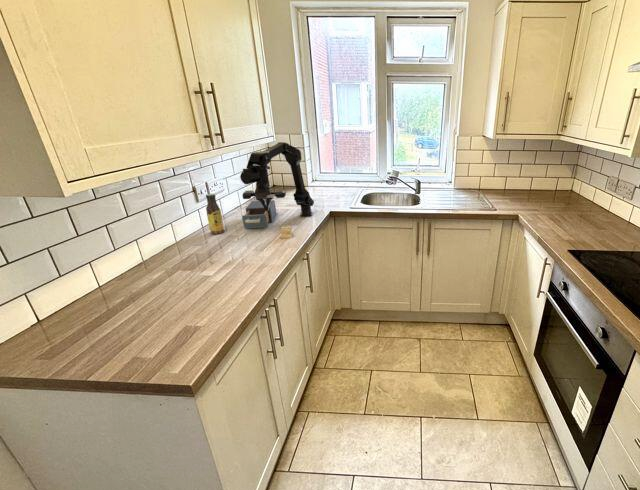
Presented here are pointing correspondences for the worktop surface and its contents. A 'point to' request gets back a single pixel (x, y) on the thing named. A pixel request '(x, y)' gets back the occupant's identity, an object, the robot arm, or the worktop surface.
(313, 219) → the worktop surface
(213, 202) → the sauce bottle
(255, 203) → the cabinet
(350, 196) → the worktop surface
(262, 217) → the drawer
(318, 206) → the worktop surface
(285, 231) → the block
